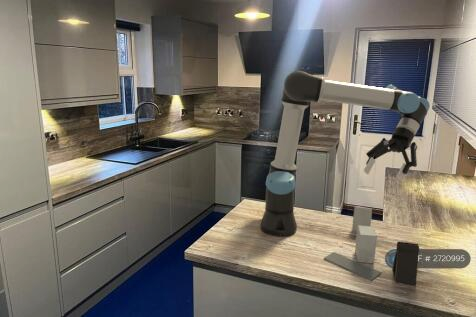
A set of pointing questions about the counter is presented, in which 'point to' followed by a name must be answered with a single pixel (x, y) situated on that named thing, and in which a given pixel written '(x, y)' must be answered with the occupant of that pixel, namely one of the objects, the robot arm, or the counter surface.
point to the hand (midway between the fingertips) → (381, 175)
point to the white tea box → (361, 217)
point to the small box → (365, 244)
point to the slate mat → (353, 266)
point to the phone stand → (406, 263)
